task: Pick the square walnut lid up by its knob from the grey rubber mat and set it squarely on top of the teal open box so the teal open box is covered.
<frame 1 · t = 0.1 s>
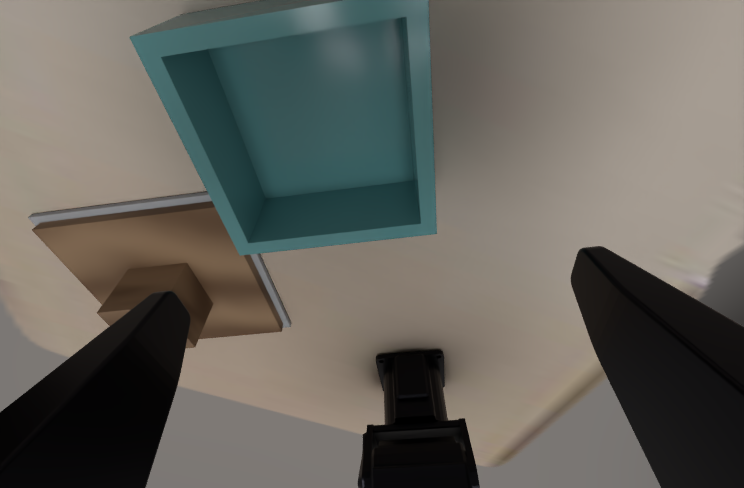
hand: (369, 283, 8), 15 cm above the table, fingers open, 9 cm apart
lid: (177, 279, 28), resting on mat
mat: (179, 276, 29), on the table
teal open box: (322, 112, 20), on the table
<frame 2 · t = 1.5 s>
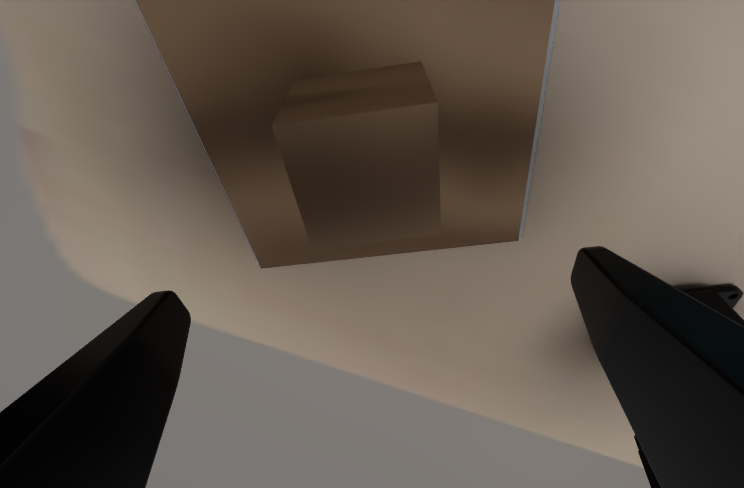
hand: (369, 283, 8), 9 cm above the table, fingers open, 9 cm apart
lid: (366, 123, 15), resting on mat
mat: (366, 120, 15), on the table
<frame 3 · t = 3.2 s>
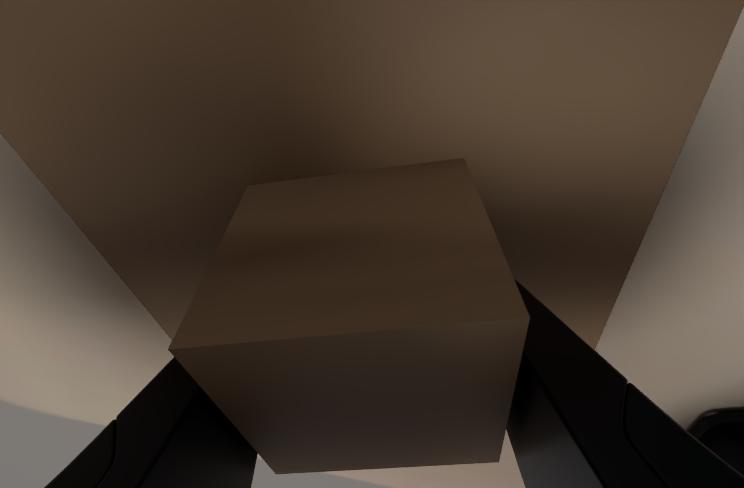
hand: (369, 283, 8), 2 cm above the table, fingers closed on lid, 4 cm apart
lid: (369, 232, 10), resting on mat, touching gripper
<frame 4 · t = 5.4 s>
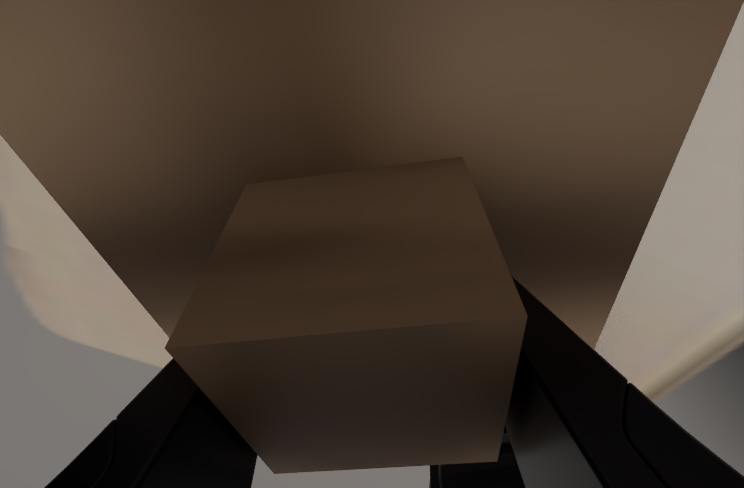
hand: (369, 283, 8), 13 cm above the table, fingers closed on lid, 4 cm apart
lid: (367, 231, 10), point 11 cm above the table, touching gripper
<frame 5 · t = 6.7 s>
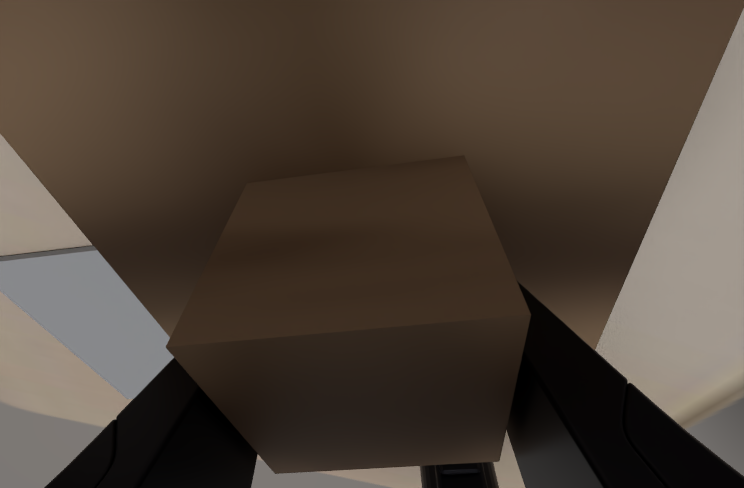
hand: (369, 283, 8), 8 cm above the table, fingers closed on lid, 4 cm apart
lid: (368, 231, 10), point 6 cm above the table, touching gripper
mat: (171, 329, 23), on the table
when the fingers open (7 cm above the table, at t = 7.7 s): lid stays where it is, resting on teal open box.
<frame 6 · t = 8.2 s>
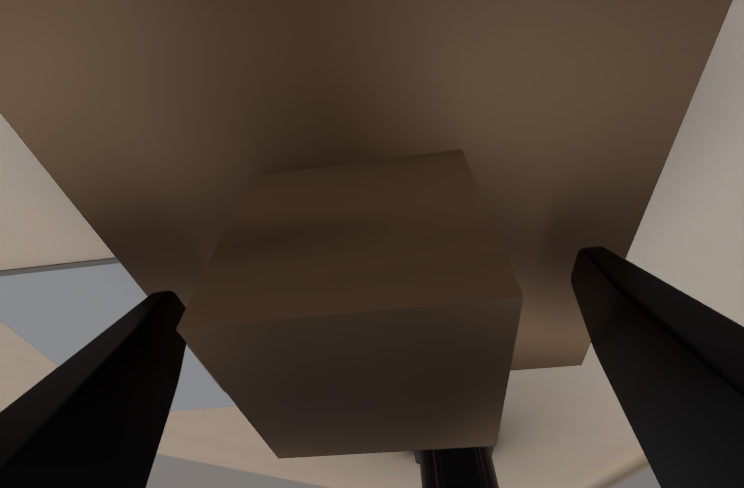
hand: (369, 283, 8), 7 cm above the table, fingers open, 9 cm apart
lid: (369, 224, 10), point 5 cm above the table, touching teal open box
mat: (164, 346, 22), on the table
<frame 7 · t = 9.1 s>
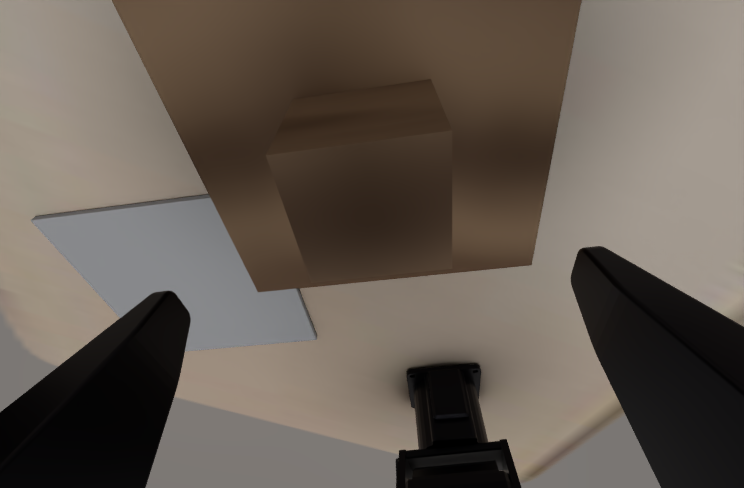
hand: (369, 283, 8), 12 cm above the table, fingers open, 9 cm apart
lid: (370, 143, 14), point 5 cm above the table, touching teal open box
mat: (196, 284, 26), on the table
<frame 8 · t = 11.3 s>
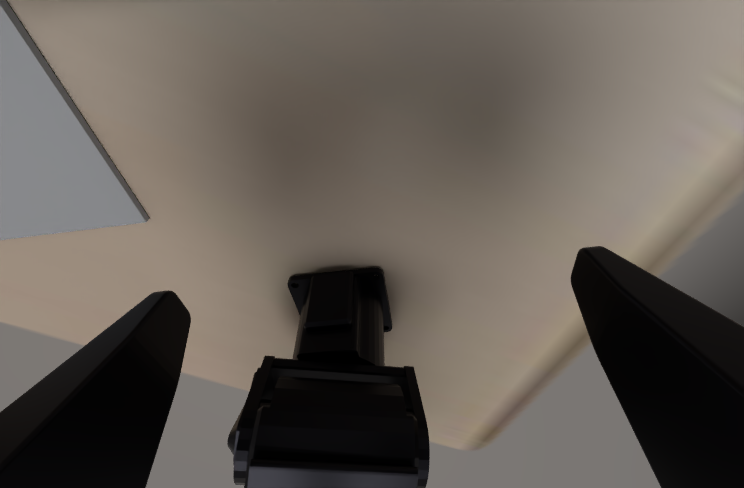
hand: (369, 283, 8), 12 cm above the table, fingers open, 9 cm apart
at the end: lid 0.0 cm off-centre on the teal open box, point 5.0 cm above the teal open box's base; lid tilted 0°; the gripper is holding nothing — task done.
